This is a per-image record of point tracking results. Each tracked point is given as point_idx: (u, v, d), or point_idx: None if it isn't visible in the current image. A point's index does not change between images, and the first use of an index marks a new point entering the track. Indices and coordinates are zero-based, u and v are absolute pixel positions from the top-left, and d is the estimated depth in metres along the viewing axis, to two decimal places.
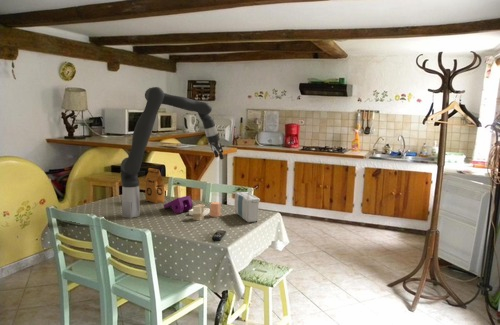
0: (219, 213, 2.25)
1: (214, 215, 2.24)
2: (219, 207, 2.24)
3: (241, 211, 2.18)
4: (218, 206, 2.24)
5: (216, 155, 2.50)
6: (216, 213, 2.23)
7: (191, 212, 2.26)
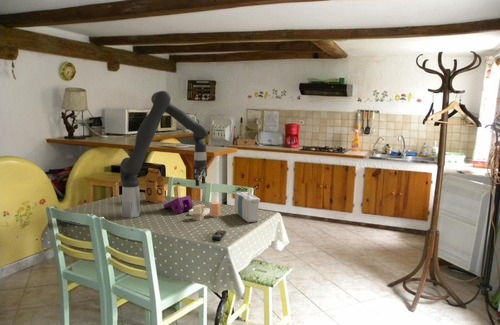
0: (219, 213, 2.25)
1: (214, 215, 2.24)
2: (219, 207, 2.24)
3: (241, 211, 2.18)
4: (218, 206, 2.24)
5: (202, 181, 2.48)
6: (216, 213, 2.23)
7: (191, 212, 2.26)
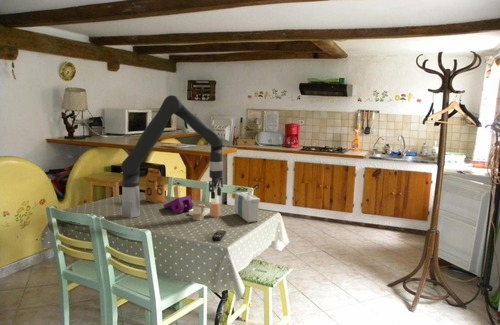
0: (219, 213, 2.25)
1: (214, 215, 2.24)
2: (219, 207, 2.24)
3: (241, 211, 2.18)
4: (218, 206, 2.24)
5: (218, 193, 2.28)
6: (216, 213, 2.23)
7: (191, 212, 2.26)
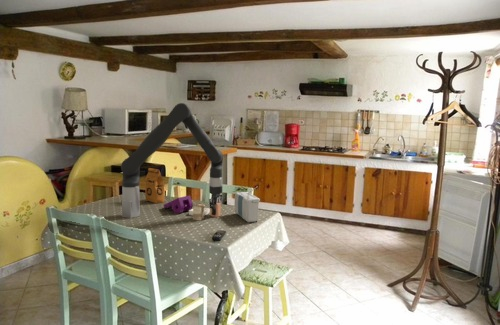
0: (219, 213, 2.26)
1: (214, 215, 2.24)
2: (219, 207, 2.25)
3: (241, 211, 2.18)
4: (218, 206, 2.24)
5: None
6: (216, 213, 2.23)
7: (191, 212, 2.26)
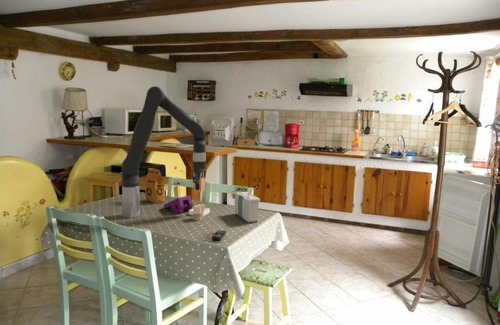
0: (203, 188, 2.27)
1: (198, 190, 2.25)
2: (202, 182, 2.26)
3: (241, 211, 2.18)
4: (202, 181, 2.25)
5: None
6: (200, 188, 2.25)
7: (191, 212, 2.26)
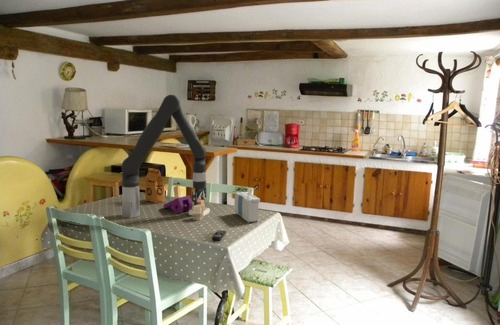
0: None
1: None
2: (202, 204, 2.28)
3: (241, 211, 2.18)
4: (201, 203, 2.27)
5: None
6: None
7: (191, 212, 2.26)
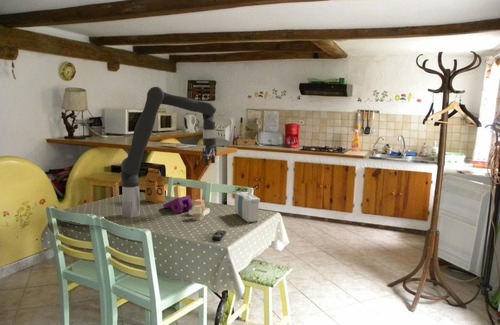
0: None
1: None
2: (202, 204, 2.28)
3: (241, 211, 2.18)
4: (201, 203, 2.27)
5: (212, 161, 2.38)
6: None
7: (191, 212, 2.26)
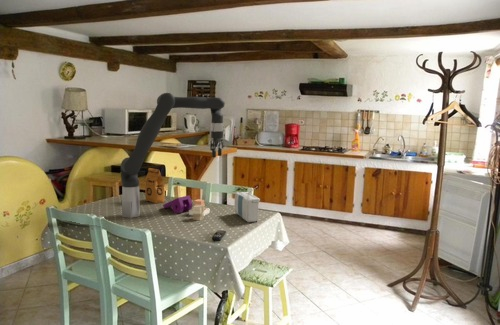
0: None
1: None
2: (202, 204, 2.28)
3: (241, 211, 2.18)
4: (201, 203, 2.27)
5: (219, 153, 2.46)
6: None
7: (191, 212, 2.26)
